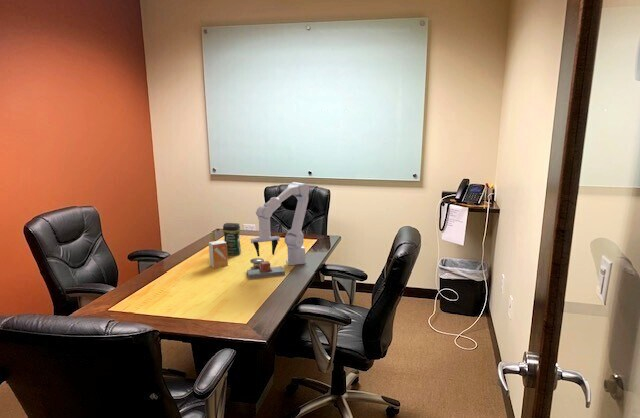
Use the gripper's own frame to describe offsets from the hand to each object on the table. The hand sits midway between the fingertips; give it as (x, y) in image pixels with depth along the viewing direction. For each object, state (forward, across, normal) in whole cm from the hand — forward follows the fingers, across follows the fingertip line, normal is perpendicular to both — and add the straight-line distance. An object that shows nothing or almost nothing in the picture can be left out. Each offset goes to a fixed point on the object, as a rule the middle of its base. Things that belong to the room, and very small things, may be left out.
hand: (265, 255), depth 220 cm
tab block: (+9, +1, +4) cm, 10 cm away
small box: (+9, +23, -17) cm, 30 cm away
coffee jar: (+9, +14, -36) cm, 39 cm away
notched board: (+8, +1, +5) cm, 10 cm away
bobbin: (+8, +4, -4) cm, 10 cm away
